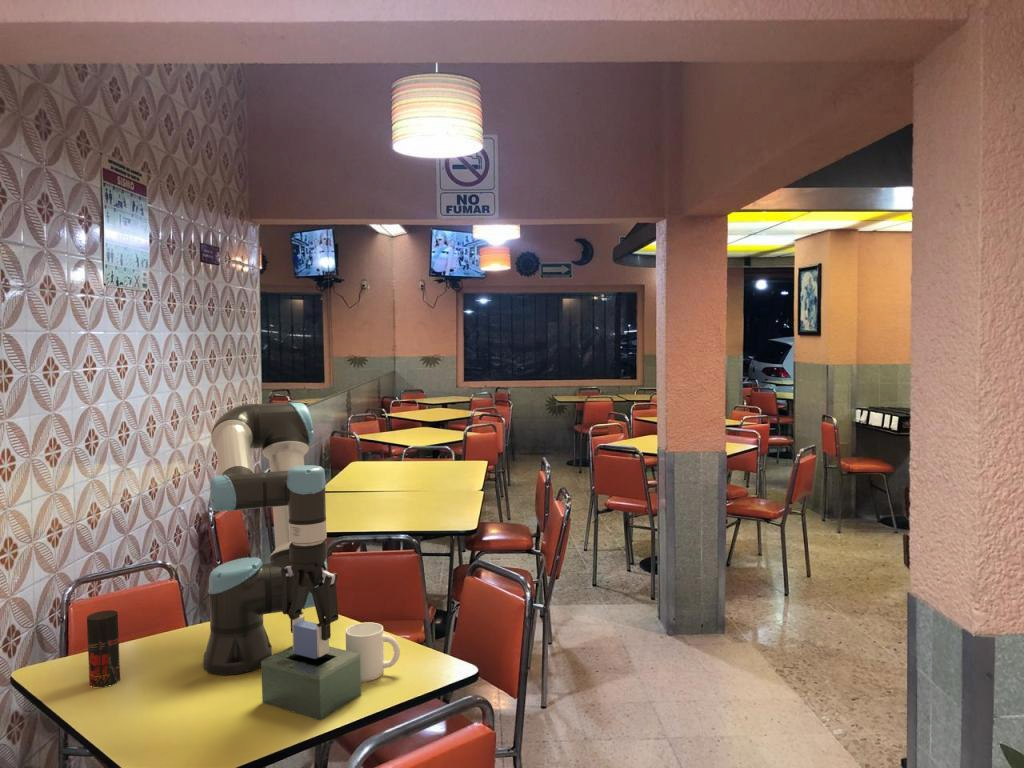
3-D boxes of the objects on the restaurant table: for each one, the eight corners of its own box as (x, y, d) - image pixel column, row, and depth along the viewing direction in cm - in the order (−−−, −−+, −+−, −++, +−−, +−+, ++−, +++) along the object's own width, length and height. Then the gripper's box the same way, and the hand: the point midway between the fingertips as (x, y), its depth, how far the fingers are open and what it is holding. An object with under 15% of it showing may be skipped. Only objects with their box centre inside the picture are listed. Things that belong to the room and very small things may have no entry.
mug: (404, 666, 168) (403, 622, 168) (396, 683, 160) (394, 636, 159) (352, 666, 169) (351, 622, 168) (341, 682, 161) (340, 636, 160)
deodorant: (85, 682, 162) (82, 615, 162) (114, 673, 167) (112, 608, 166) (94, 690, 158) (92, 622, 158) (124, 681, 163) (121, 614, 162)
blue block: (294, 653, 152) (293, 625, 152) (304, 648, 155) (303, 620, 155) (315, 658, 150) (314, 629, 149) (325, 653, 152) (325, 625, 152)
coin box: (262, 702, 152) (261, 660, 151) (304, 679, 162) (303, 640, 162) (320, 720, 144) (319, 676, 144) (361, 694, 155) (360, 653, 154)
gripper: (261, 540, 153) (264, 649, 154) (330, 551, 144) (333, 667, 145) (288, 532, 159) (290, 637, 160) (355, 542, 150) (358, 653, 151)
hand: (310, 651), depth 153 cm, fingers closed on blue block, 6 cm apart
